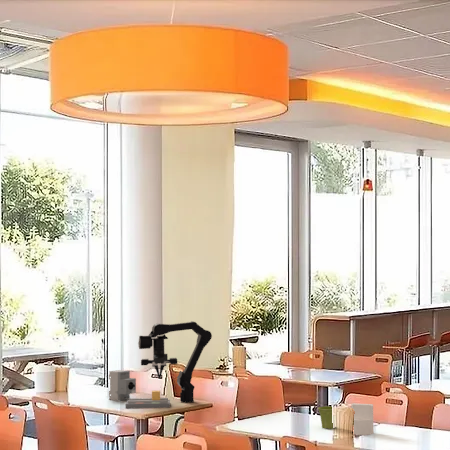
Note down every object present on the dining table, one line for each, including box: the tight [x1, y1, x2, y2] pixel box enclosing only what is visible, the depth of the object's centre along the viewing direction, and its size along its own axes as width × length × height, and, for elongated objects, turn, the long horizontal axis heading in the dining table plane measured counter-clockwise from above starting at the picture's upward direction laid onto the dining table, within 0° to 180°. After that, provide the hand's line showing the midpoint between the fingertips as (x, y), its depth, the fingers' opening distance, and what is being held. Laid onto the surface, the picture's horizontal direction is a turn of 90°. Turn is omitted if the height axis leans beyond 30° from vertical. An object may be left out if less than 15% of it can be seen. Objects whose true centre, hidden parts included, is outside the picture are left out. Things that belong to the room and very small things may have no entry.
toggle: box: [151, 390, 161, 400], centre depth 482 cm, size 4×5×5 cm
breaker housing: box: [125, 397, 171, 409], centre depth 482 cm, size 22×14×3 cm, turn 92°
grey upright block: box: [351, 403, 375, 436], centre depth 397 cm, size 9×9×12 cm
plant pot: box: [317, 405, 333, 430], centre depth 410 cm, size 9×9×9 cm
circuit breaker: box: [108, 369, 137, 401], centre depth 505 cm, size 8×14×15 cm, turn 53°
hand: (159, 378), depth 491 cm, fingers closed
